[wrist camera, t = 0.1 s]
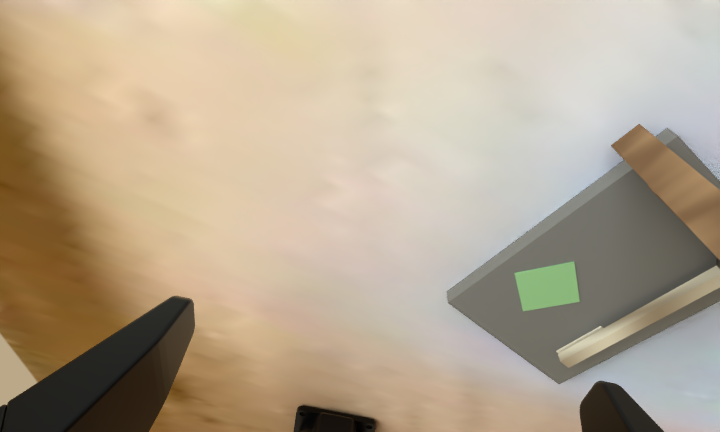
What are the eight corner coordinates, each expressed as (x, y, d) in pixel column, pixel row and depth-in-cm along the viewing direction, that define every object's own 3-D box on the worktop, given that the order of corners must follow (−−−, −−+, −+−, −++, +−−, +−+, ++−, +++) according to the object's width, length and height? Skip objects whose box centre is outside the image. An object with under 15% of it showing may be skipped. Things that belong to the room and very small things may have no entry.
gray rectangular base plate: (555, 371, 30) (559, 385, 30) (447, 291, 28) (448, 303, 27) (780, 251, 24) (795, 263, 23) (667, 128, 21) (679, 136, 20)
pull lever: (573, 366, 28) (689, 676, 16) (448, 271, 25) (478, 566, 13) (780, 256, 22) (1190, 613, 10) (649, 115, 19) (1020, 394, 7)
